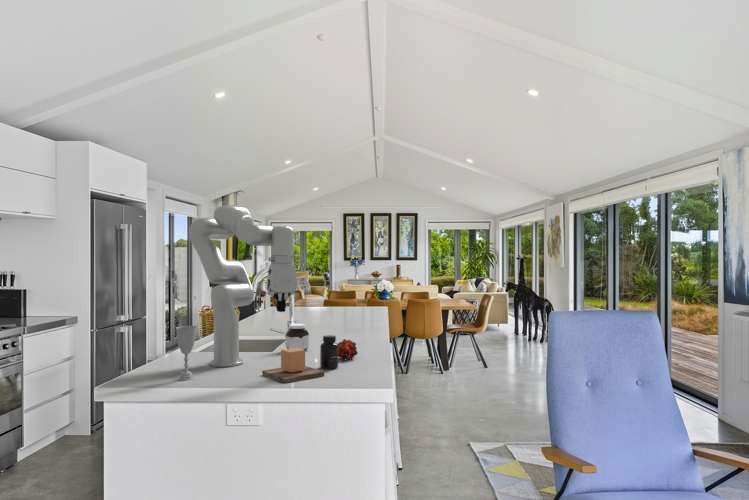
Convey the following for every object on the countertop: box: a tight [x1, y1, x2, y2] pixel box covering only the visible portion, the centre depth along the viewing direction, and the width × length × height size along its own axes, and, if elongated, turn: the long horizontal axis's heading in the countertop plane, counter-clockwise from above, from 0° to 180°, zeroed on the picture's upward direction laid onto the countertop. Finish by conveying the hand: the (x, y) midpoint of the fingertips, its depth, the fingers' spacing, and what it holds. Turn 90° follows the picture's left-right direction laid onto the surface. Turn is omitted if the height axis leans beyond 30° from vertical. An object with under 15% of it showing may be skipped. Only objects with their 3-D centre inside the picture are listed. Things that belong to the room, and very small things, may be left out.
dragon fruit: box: [337, 338, 359, 361], centre depth 218 cm, size 8×8×12 cm
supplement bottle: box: [319, 335, 339, 370], centre depth 202 cm, size 7×7×12 cm
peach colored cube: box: [280, 348, 306, 372], centre depth 189 cm, size 6×6×7 cm
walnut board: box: [261, 365, 325, 384], centre depth 189 cm, size 16×16×2 cm
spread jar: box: [285, 323, 310, 351], centre depth 235 cm, size 12×11×12 cm
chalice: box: [174, 325, 198, 381], centre depth 185 cm, size 7×7×18 cm
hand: (280, 311), depth 191 cm, fingers closed
